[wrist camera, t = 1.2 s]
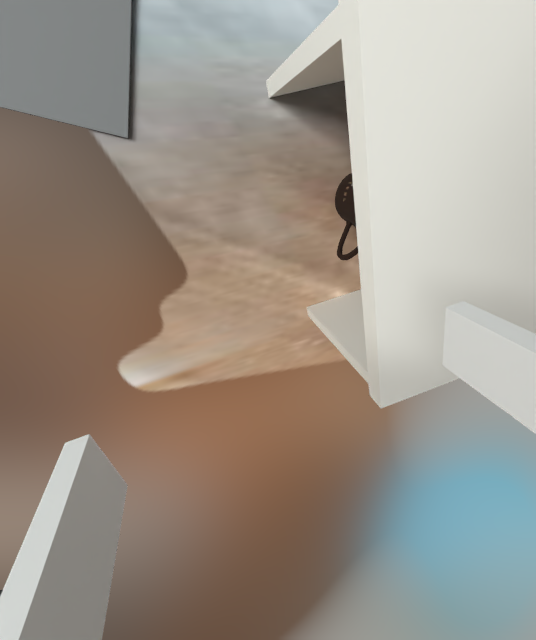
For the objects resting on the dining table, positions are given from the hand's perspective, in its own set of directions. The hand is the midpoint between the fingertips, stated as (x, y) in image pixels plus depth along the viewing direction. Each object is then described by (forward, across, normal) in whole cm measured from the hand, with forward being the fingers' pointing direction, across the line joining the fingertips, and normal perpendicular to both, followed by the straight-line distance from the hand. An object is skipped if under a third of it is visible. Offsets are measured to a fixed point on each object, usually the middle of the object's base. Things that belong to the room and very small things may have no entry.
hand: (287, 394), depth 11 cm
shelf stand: (+31, +18, -1) cm, 36 cm away
